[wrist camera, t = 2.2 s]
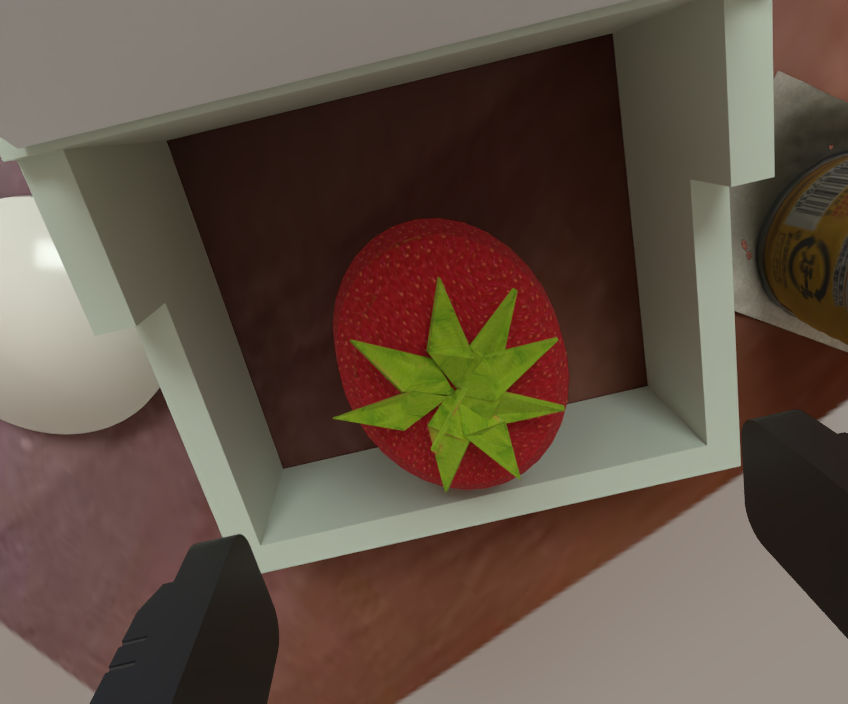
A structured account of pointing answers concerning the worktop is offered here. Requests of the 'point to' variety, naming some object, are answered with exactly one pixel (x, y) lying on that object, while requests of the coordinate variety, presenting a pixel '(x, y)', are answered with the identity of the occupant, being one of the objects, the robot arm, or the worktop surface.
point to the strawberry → (450, 354)
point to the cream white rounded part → (58, 340)
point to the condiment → (797, 220)
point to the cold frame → (347, 76)
